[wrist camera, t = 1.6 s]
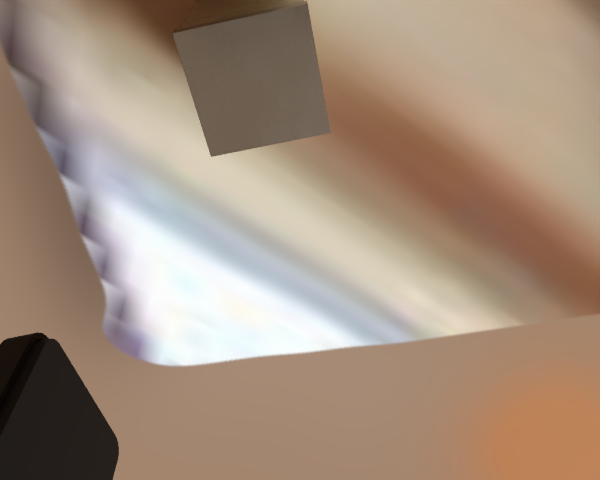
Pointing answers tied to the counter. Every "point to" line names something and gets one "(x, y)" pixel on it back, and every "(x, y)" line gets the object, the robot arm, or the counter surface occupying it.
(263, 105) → the tea tin
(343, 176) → the counter surface
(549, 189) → the counter surface
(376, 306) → the counter surface
